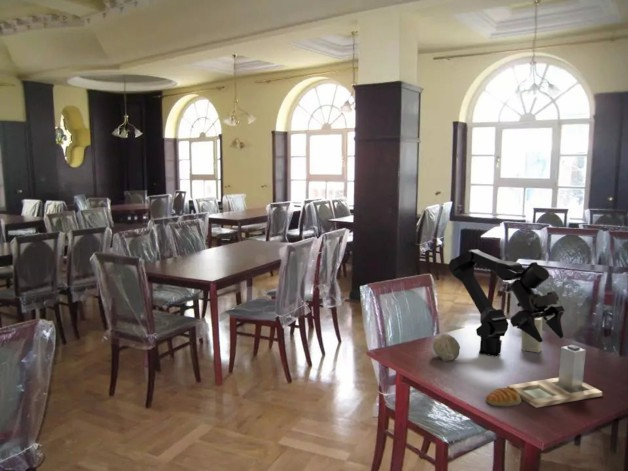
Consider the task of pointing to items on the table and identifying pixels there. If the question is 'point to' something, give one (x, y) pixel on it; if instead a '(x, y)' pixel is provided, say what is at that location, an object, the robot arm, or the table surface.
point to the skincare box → (529, 341)
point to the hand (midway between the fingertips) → (551, 339)
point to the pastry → (504, 397)
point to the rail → (551, 392)
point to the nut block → (571, 368)
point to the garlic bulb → (446, 347)
